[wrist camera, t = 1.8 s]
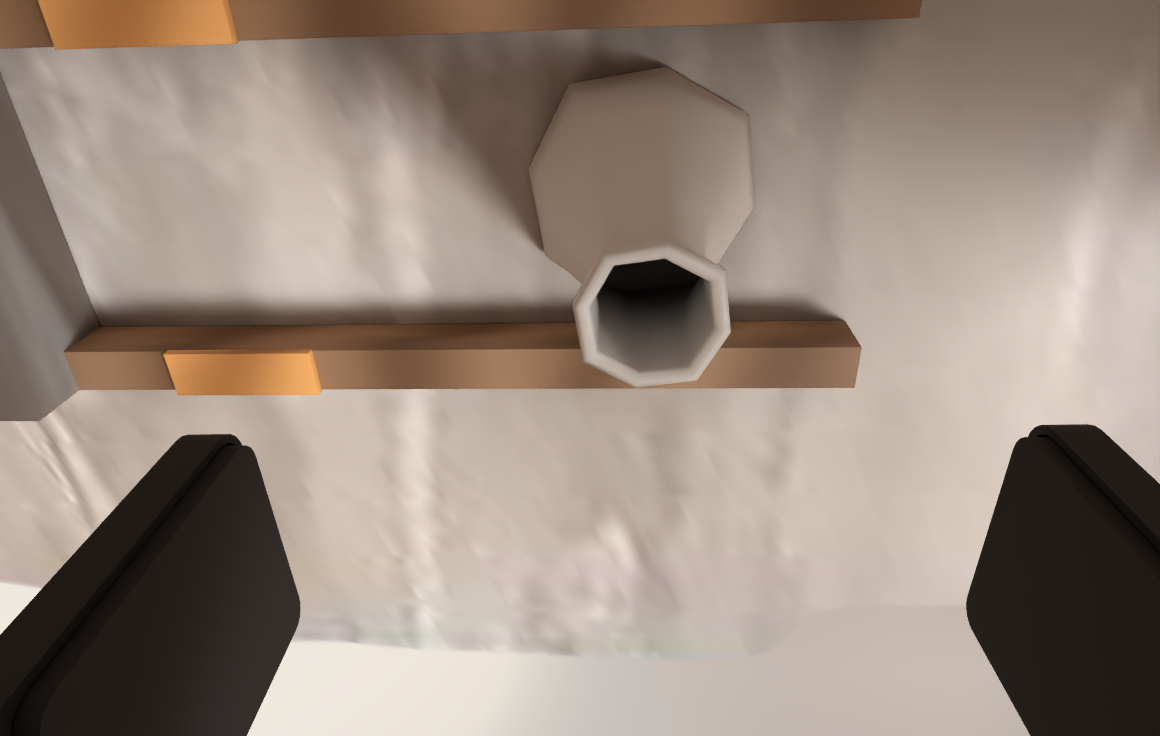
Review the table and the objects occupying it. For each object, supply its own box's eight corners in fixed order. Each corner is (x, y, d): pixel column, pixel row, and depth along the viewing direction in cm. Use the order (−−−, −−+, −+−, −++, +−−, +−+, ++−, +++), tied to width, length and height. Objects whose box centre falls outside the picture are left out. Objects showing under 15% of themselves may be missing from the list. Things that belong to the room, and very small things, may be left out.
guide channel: (903, -51, 20) (964, -55, 16) (838, 360, 26) (872, 422, 22) (-114, -11, 21) (-259, -6, 18) (51, 364, 27) (-32, 422, 24)
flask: (543, 44, 21) (487, 99, 12) (785, 86, 21) (897, 169, 13) (516, 272, 25) (457, 439, 16) (724, 307, 25) (778, 490, 16)
